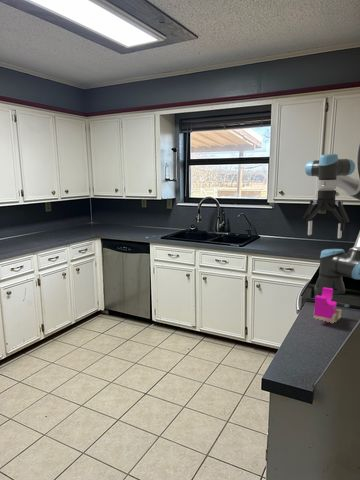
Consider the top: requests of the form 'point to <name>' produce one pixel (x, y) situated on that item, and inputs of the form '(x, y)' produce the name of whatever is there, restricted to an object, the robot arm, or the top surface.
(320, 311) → the toy block
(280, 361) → the top surface
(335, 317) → the riser
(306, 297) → the top surface
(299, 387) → the top surface
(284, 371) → the top surface
